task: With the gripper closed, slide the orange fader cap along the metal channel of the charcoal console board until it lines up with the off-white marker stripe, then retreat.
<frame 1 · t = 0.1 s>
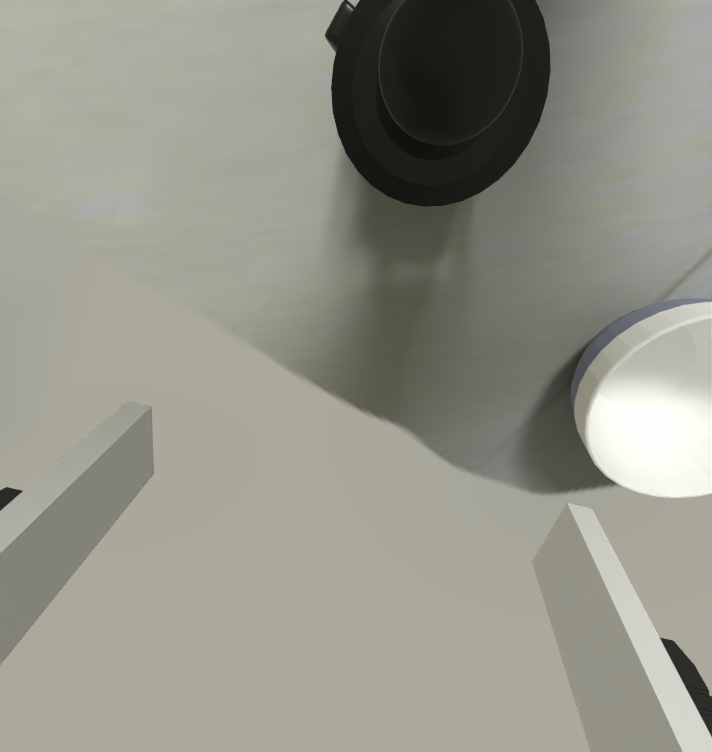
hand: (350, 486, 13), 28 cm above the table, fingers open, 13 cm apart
french press: (418, 117, 33), on the table
bowl: (637, 359, 40), on the table
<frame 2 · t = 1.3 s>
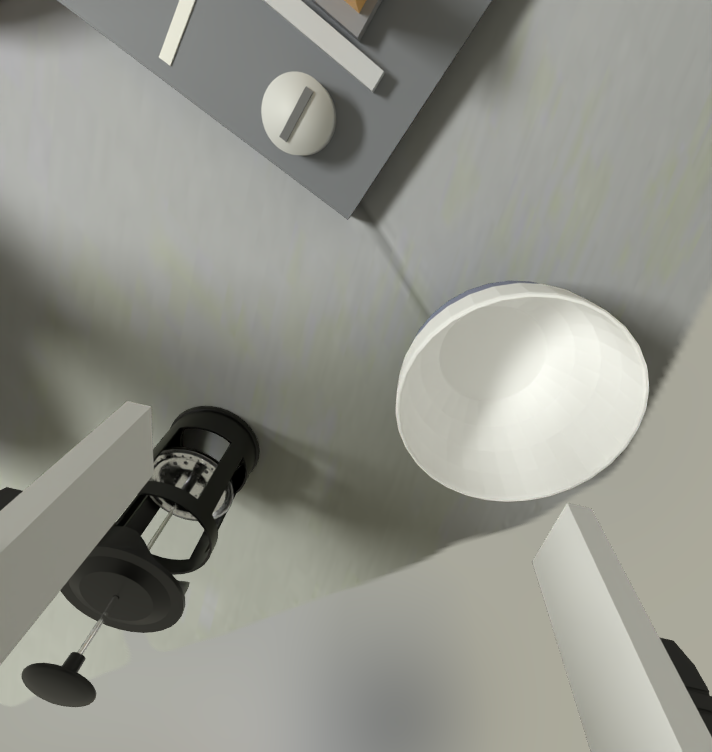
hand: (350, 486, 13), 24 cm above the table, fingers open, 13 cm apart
french press: (212, 444, 44), on the table
bowl: (489, 350, 36), on the table
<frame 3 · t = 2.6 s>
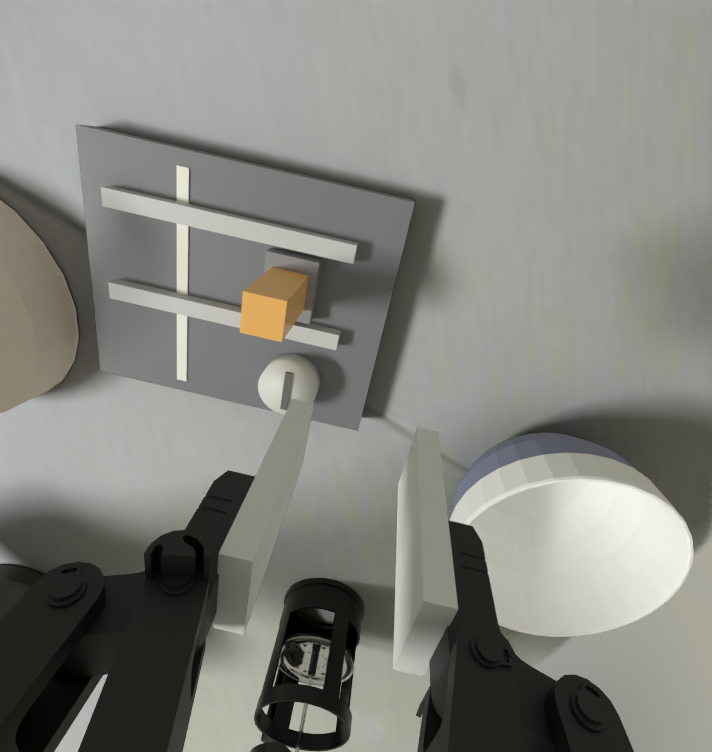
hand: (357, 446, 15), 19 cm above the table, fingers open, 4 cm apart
french press: (322, 605, 50), on the table
console board: (245, 290, 33), on the table
fader tab: (279, 299, 27), point 6 cm above the table, slide at 0.0 cm
bowl: (529, 474, 38), on the table
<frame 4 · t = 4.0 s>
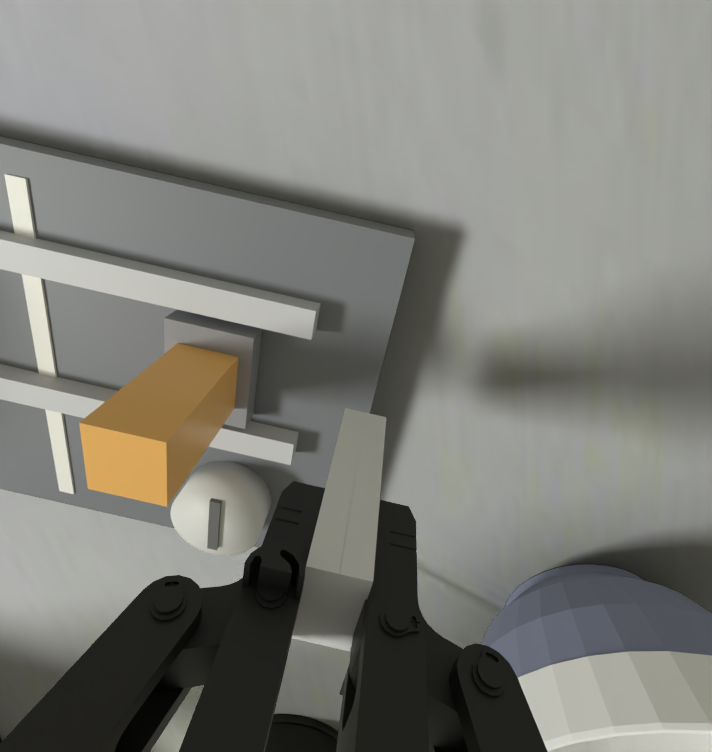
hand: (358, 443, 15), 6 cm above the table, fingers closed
french press: (294, 741, 38), on the table
console board: (154, 364, 21), on the table
fader tab: (180, 406, 15), point 6 cm above the table, slide at 0.0 cm
bowl: (577, 610, 27), on the table
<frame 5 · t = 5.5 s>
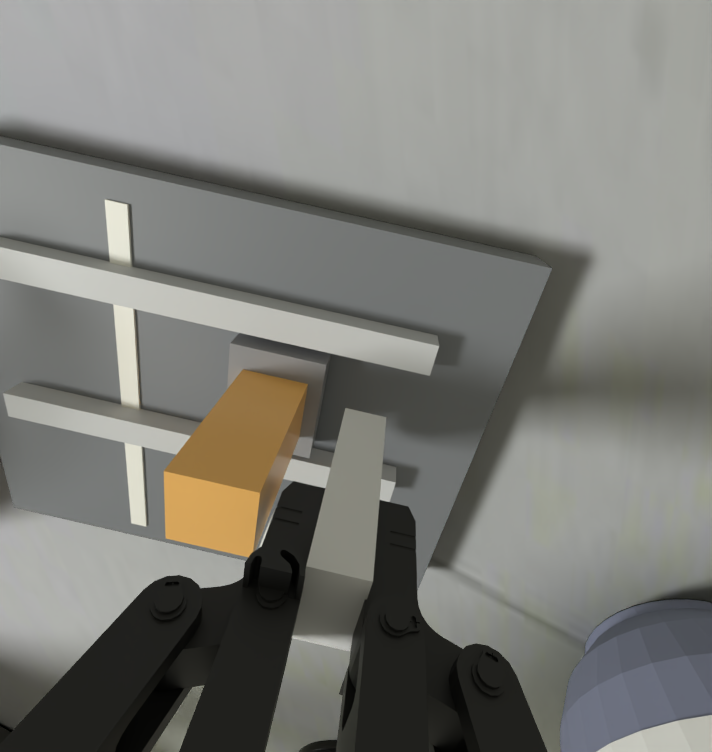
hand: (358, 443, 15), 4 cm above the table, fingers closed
console board: (236, 393, 20), on the table
fader tab: (252, 440, 14), point 6 cm above the table, slide at 1.6 cm, touching gripper
bowl: (664, 644, 25), on the table
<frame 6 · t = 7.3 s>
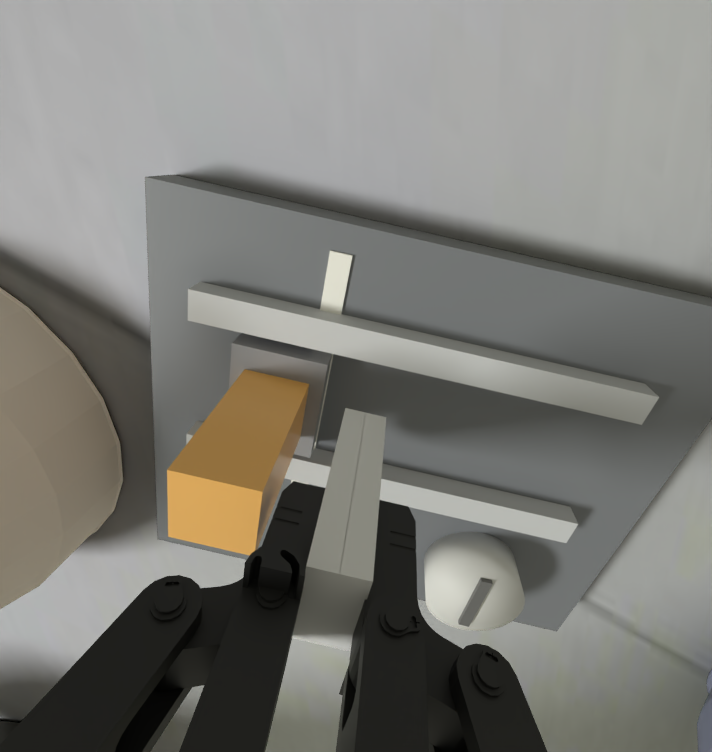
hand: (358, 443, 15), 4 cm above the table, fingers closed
console board: (398, 429, 20), on the table
fader tab: (254, 439, 14), point 6 cm above the table, slide at 9.4 cm, touching gripper
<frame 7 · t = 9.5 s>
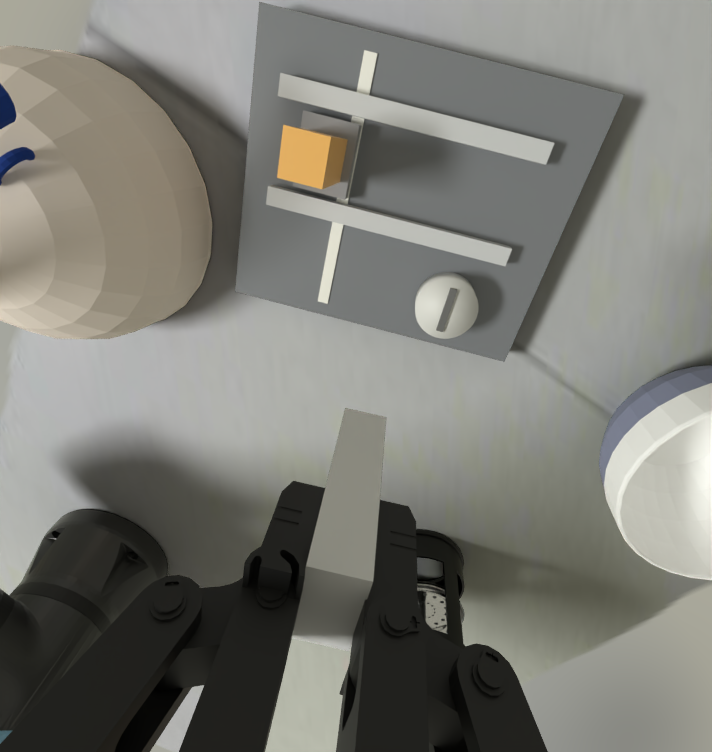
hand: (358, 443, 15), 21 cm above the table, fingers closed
french press: (417, 559, 48), on the table
console board: (400, 205, 31), on the table
kettle: (94, 207, 34), on the table
fader tab: (317, 157, 25), point 6 cm above the table, slide at 9.5 cm
bowl: (672, 417, 36), on the table
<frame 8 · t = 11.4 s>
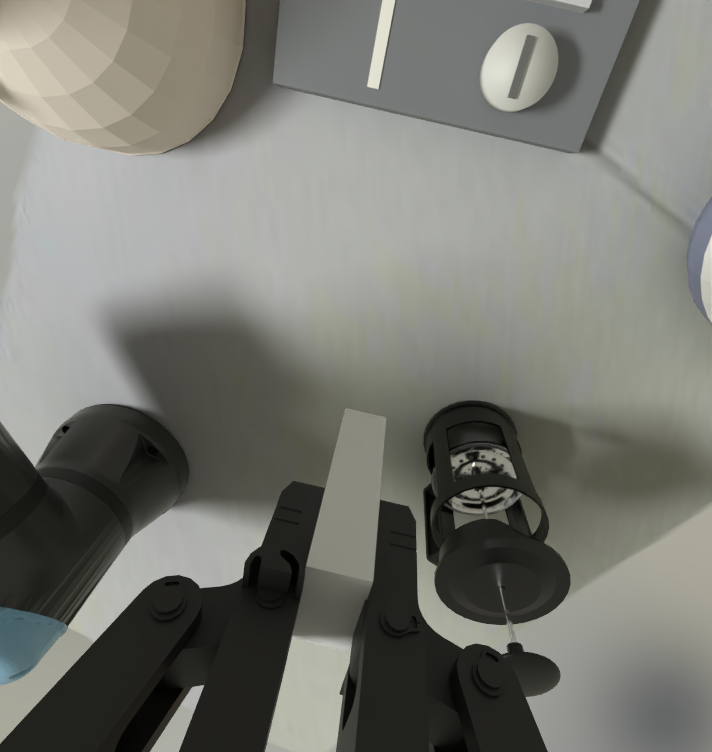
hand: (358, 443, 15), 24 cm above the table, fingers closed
french press: (465, 441, 44), on the table
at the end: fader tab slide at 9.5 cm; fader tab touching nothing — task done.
